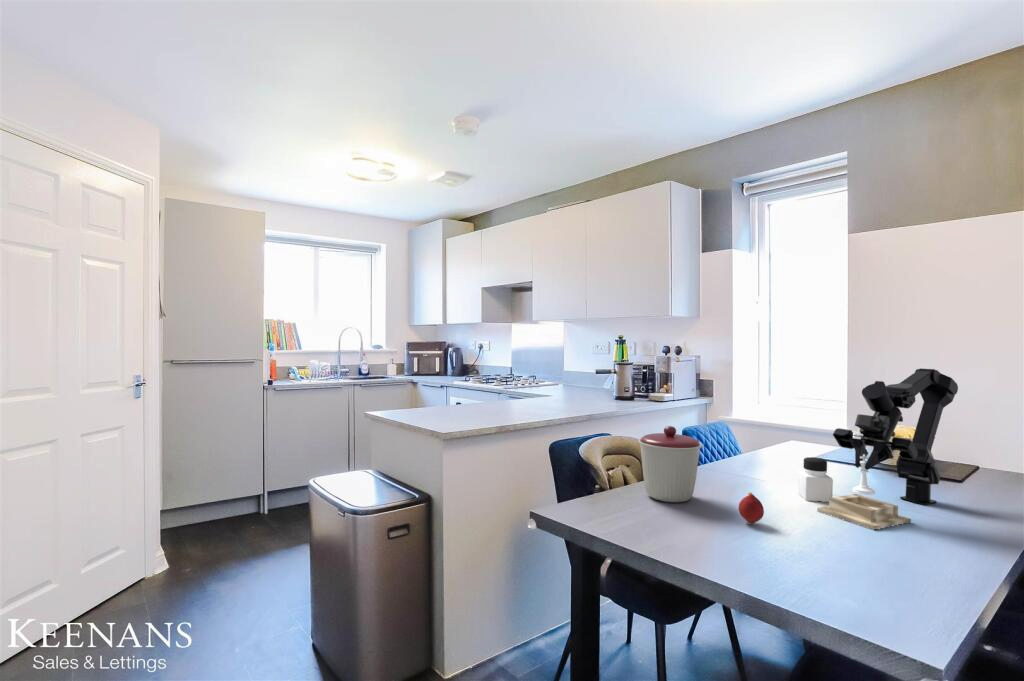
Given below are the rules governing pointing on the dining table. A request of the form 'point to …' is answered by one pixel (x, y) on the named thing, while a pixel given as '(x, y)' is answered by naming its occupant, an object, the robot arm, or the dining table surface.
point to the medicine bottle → (815, 480)
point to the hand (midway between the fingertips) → (861, 467)
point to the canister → (669, 465)
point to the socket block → (864, 511)
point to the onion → (751, 508)
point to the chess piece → (863, 480)
